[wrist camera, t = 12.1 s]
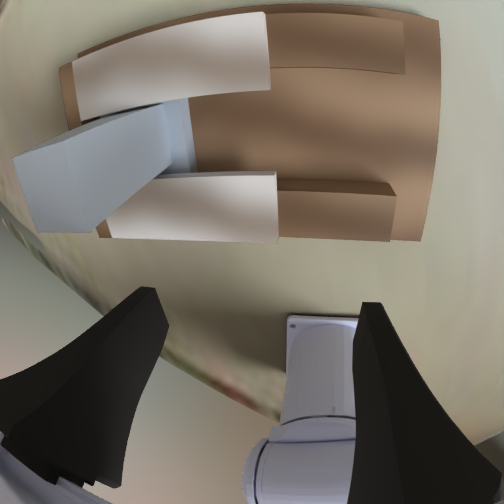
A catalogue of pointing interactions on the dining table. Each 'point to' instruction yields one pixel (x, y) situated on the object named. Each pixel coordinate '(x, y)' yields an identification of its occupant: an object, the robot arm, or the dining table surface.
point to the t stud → (104, 164)
